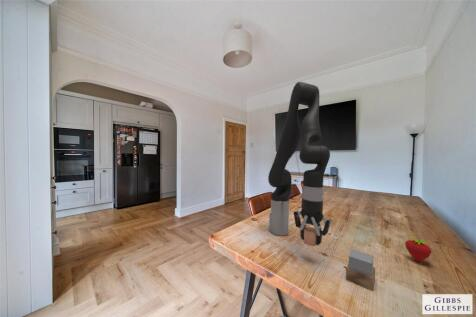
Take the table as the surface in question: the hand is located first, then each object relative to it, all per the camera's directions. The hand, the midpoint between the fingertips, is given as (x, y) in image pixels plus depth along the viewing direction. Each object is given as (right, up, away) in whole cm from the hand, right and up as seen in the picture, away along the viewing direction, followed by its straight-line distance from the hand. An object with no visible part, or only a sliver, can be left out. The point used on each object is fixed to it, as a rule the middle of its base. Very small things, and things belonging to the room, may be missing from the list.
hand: (310, 241), depth 68 cm
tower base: (+12, -8, -10) cm, 18 cm away
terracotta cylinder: (0, 0, 0) cm, 0 cm away
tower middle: (+12, -4, -10) cm, 17 cm away
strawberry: (+41, -8, 0) cm, 42 cm away
